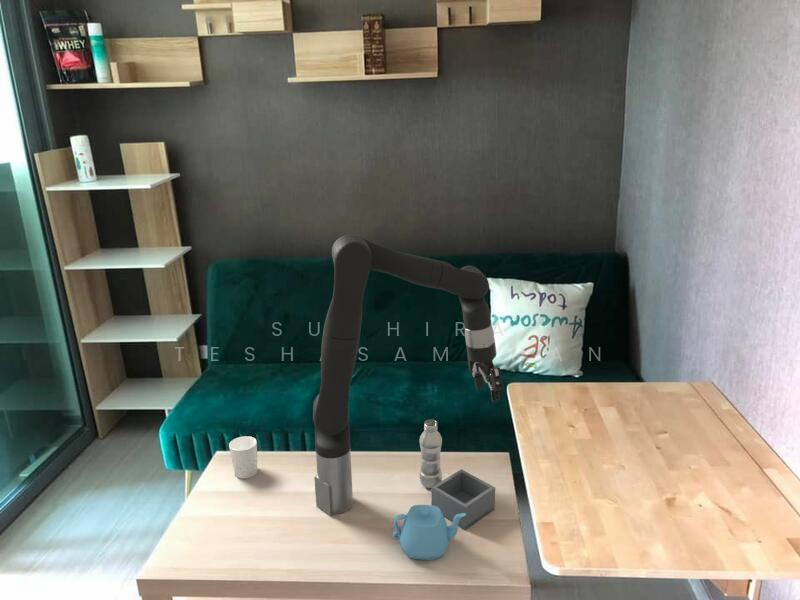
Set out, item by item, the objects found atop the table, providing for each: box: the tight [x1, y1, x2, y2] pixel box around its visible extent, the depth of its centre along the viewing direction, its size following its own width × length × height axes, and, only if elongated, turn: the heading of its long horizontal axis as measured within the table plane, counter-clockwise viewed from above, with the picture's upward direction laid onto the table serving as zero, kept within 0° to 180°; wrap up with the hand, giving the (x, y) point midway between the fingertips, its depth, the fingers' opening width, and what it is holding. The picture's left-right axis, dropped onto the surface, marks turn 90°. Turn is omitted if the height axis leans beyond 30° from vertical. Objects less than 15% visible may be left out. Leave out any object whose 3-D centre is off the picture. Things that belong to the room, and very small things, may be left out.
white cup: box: [228, 435, 258, 480], centre depth 187 cm, size 8×8×10 cm
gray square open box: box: [431, 468, 496, 531], centre depth 170 cm, size 12×12×7 cm
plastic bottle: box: [419, 419, 443, 489], centre depth 178 cm, size 6×7×20 cm
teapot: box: [392, 504, 466, 561], centre depth 156 cm, size 13×11×18 cm
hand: (487, 394), depth 171 cm, fingers open, 8 cm apart
